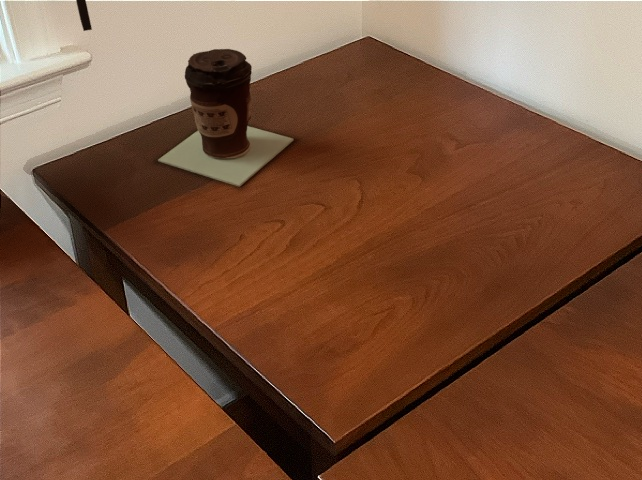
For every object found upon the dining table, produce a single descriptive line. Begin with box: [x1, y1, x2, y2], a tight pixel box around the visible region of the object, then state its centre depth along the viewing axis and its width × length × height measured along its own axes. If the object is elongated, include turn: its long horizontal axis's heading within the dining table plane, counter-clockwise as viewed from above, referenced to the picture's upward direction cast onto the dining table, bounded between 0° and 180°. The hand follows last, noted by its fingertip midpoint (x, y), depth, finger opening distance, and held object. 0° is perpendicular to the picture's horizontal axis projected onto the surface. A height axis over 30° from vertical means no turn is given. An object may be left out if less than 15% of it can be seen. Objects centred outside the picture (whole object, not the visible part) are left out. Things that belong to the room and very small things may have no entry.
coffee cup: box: [184, 48, 253, 159], centre depth 106 cm, size 9×8×13 cm
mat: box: [157, 125, 294, 187], centre depth 110 cm, size 13×13×1 cm
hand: (10, 36), depth 75 cm, fingers open, 13 cm apart
